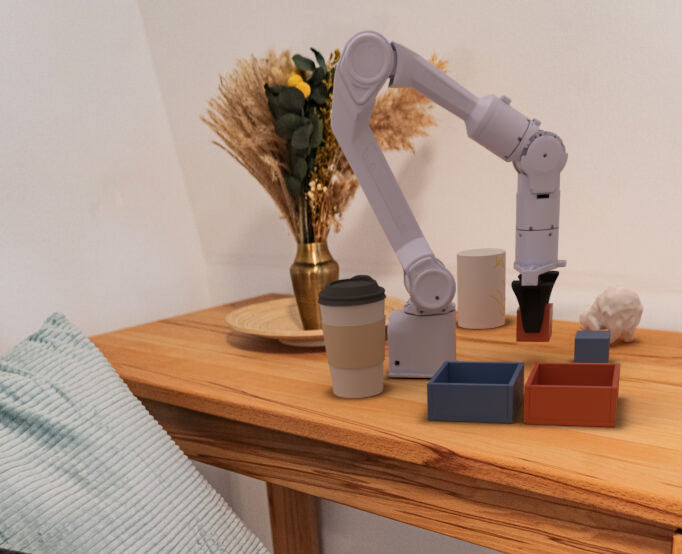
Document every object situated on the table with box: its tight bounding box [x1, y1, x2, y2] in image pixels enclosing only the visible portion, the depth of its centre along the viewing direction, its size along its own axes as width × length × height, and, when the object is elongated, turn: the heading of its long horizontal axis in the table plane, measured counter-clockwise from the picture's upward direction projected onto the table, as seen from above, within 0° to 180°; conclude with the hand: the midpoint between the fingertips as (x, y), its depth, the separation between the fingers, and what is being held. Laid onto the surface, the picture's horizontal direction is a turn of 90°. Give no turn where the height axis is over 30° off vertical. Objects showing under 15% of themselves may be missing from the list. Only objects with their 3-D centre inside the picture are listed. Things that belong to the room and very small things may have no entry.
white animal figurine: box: [578, 285, 644, 345], centre depth 129 cm, size 6×8×12 cm
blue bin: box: [426, 360, 525, 424], centre depth 104 cm, size 10×10×5 cm
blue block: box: [573, 330, 611, 363], centre depth 117 cm, size 4×4×4 cm
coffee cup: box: [317, 274, 387, 399], centre depth 112 cm, size 9×9×15 cm
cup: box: [456, 247, 507, 330], centre depth 144 cm, size 8×8×12 cm
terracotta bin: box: [523, 361, 621, 428], centre depth 100 cm, size 10×10×5 cm
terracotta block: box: [515, 302, 554, 343], centre depth 119 cm, size 4×4×4 cm
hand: (534, 328), depth 119 cm, fingers closed on terracotta block, 4 cm apart
